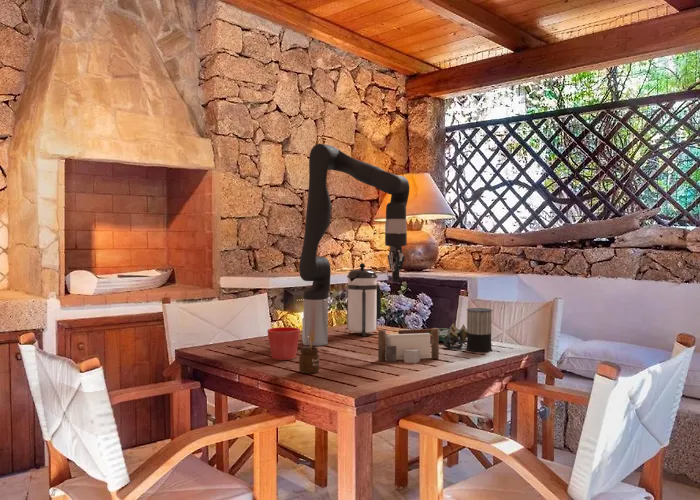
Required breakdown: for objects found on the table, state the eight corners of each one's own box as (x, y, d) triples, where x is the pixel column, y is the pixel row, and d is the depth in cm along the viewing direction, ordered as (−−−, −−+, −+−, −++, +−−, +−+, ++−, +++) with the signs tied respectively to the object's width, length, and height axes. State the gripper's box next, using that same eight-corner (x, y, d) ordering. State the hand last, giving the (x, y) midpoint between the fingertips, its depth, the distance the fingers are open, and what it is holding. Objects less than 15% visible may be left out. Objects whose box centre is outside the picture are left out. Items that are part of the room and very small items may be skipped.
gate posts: (380, 362, 196) (380, 331, 196) (377, 359, 200) (377, 329, 200) (441, 359, 201) (441, 329, 201) (437, 357, 205) (437, 327, 205)
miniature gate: (399, 325, 261) (470, 322, 254) (400, 337, 261) (471, 335, 254) (390, 334, 234) (469, 331, 228) (391, 348, 234) (470, 346, 228)
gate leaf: (428, 357, 204) (428, 333, 204) (430, 358, 202) (430, 333, 202) (385, 359, 200) (385, 334, 200) (387, 359, 199) (387, 335, 199)
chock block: (415, 363, 195) (415, 351, 195) (404, 362, 197) (404, 350, 197) (419, 361, 199) (419, 349, 199) (408, 360, 200) (408, 348, 200)
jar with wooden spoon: (296, 373, 179) (296, 332, 179) (303, 369, 186) (303, 329, 185) (315, 374, 178) (316, 333, 178) (321, 370, 184) (321, 330, 184)
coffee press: (383, 337, 248) (383, 263, 248) (344, 337, 248) (344, 263, 247) (380, 330, 265) (380, 262, 265) (344, 330, 265) (344, 262, 265)
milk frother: (497, 351, 217) (497, 310, 216) (457, 353, 212) (457, 311, 212) (477, 345, 230) (477, 306, 230) (439, 347, 226) (439, 307, 225)
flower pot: (263, 356, 206) (263, 327, 206) (294, 354, 210) (294, 326, 210) (272, 362, 196) (272, 332, 196) (304, 359, 200) (304, 330, 200)
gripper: (380, 232, 217) (380, 281, 217) (391, 232, 204) (390, 283, 204) (400, 232, 219) (400, 280, 219) (412, 232, 206) (412, 283, 206)
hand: (395, 282), depth 211 cm, fingers closed
